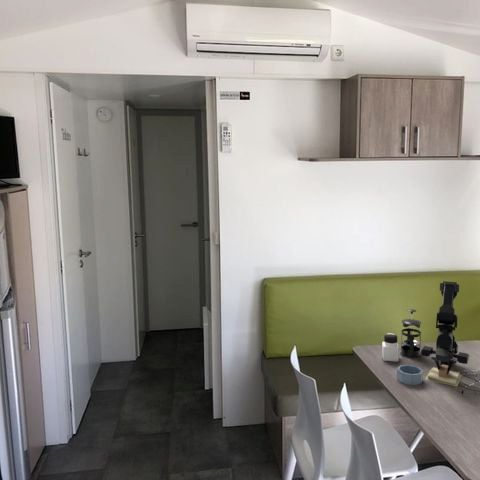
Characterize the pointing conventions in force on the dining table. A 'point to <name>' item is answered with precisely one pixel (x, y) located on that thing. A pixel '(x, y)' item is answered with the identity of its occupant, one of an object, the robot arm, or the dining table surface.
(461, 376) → the mat
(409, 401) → the dining table surface
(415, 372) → the bowl
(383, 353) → the medicine bottle
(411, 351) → the french press
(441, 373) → the lid
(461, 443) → the dining table surface
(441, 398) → the dining table surface
